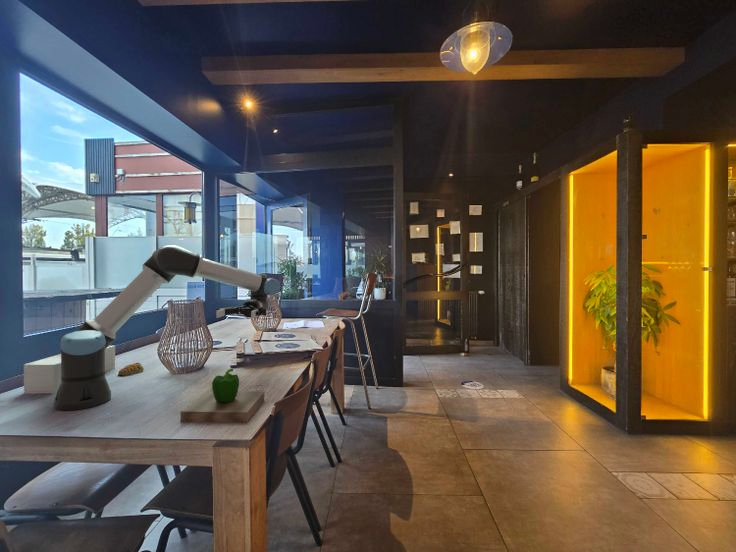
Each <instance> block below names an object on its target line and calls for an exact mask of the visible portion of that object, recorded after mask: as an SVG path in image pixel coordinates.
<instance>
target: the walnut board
mask: <svg viewBox="0 0 736 552" xmlns="http://www.w3.org/2000/svg"><path fill="white" fill-rule="evenodd" d="M264 401H265V391H259V390H258V391H247V390H242V391H241V390H238V392H237V395H236V397H235V399H234V401H232V402H229V403H223V402H217V401H216V400H215V397H214V394H213V390H206V391H205V392H204V393H202V394H201V395H200V396H199V397H198V398H196V399H194V400H193V401H192V402H191V403H190V404H189V405H187V406H186V407H184V408H183V409H182V410H180V414H179V415H180V417H179V419H180V422H193V421H195V423H196V422H198V421H200V422H199V423H201V422H202V423H203V421H205V422H204V423H206V422H209V423H210V422H212V423H213V422H214V423H248V422H249V420H251V418H252V416H253V415H254V414H255V413H256V411H257V410H258V409H259V408H260V406H261V405H262V403H264Z"/></svg>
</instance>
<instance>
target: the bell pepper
mask: <svg viewBox="0 0 736 552" xmlns="http://www.w3.org/2000/svg"><path fill="white" fill-rule="evenodd" d="M233 371H234V368H228V369H227V370H226V372H225V374H224V375H215V377H214V378H213V380H212V382H211V389H212V390H211V391H213V394H214V397H215V400H216V401H217V402H223V403H229V402H232V401H234V399H235V397H236V395H237V392H238V391H239V387H240V379H239V376H238V374H232V373H231V372H233Z"/></svg>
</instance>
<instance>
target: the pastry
mask: <svg viewBox="0 0 736 552" xmlns="http://www.w3.org/2000/svg"><path fill="white" fill-rule="evenodd" d="M144 369H145V368H144V366H143V365H142V364H141V363H140V362H133V364H132V363H131V364H128V365H126V366H124V367H123V368H120V369H119V371H117V372H118V376H124V377H125V376H126V375H127V376H131V375H135V374H139V373H141V372H143V371H144Z"/></svg>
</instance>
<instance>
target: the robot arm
mask: <svg viewBox="0 0 736 552" xmlns="http://www.w3.org/2000/svg"><path fill="white" fill-rule="evenodd" d="M176 276H185V277H188V278H194V277H199V278H203V279H206V280H211V281H215V282H217V283H222V284H226V285H230V286H234V287H236V288H240V289H243V290H248V291H250V300H246V301H245V302H244V303H242V305H241V306H239V305H237V306H229V307H221V308H216V310H215V315H216V317H215V318H216V319H219V318H223V317H224V316H227V315H238V316H240V315H243V316H244V317H245V318H249V319H255V318H257V317H261V316H267V311H268V309H269V306H270V302H269V301H268V300H269V299H268V296H270V297H272V296H276V295H278V294H279V293H280V290H281V287H282V286H281V283H280V281H279V280H278V279H276V278H274V277H268V275H267V273H262V272H261V273H259V272H258V273H257V272H256V273H254V272H250V271H248V270H243V269H241V268H237V267H234V266H230V265H227V264H224V263H221V262H218V261H214V260H211V259H207V258H204V257H203V256H202V254H199V253H196V252H194V251H191V250H188V249H186V248H183V247H181V246H179V245H173V244H172V245H170V244H169V245H163V246H161V247H158V248H157V249H156V250H155V251H154V252H152V254H151V256H149V258H148V259H147V260H146V261H145V262H144V263H143V264H142V271H141V272H140V273H139V274H138V275H137V276H136V277H135V278H134V279H133V280H132V281H131V282H130V283H128V285H127V286H126V287H125V288H123V290H122V291H121V292H120V293H119V294H118V295H117V296H116V297H115V298H114V299H113V300H111V301H110V303H109V304H108V305H106V307H105V308H103V310H102V311H101V312H100V313H99V314H98V315H97V316H96V317H95V318H92V319H88V320H86V321H85V322H83V323H82V324H81V325H80V326H79V327H78V328H77V329H76V330H75V331H72V332H70V333H66V334H64V335H62V338H61V340H60V344H59V347H60V354H61V384H60V387H59V389H58V392H57V393H56V395H55V397H54V400H53V407H54V408H53V409H54V410H58V411H77V410H83V409H89V408H93V407H95V406H99V405H102V404H105V403H107V402H108V401H109V400H111V399H112V391H111V389H110V386H109V383H108V381H107V378H106V373H105V349H106V348H107V347H108V346H109V345H111V344H112V343H113V342H114V341H115V340H116V339H117V337H116V335H117V334H116V333H117V332H118V331H119V330H120V328H121V327H122V326H123V325H124V324H125V323H126V322H127V321H128V320H129V319H130V318H131V317H133V315H134V314H135V313H136V312H137V311H138V310H139V309H140V308H141V307H142V305H143V304H145V303H146V301H147V300H148V299H150V297H151V296H152V295H153V294H154V293H155V292H156V291H157V290H158V289H159V288H160V286H162V285H166V284H169V283H170V282H171V281H172V280H173V279H174V278H175V277H176Z"/></svg>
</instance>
